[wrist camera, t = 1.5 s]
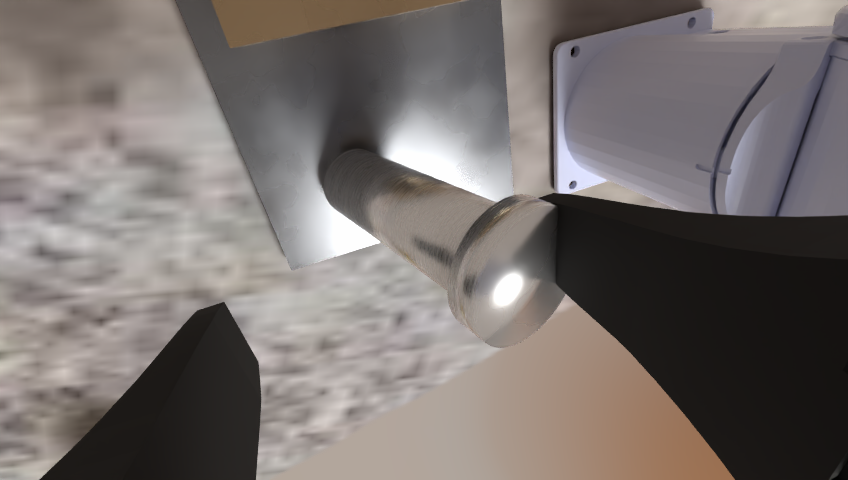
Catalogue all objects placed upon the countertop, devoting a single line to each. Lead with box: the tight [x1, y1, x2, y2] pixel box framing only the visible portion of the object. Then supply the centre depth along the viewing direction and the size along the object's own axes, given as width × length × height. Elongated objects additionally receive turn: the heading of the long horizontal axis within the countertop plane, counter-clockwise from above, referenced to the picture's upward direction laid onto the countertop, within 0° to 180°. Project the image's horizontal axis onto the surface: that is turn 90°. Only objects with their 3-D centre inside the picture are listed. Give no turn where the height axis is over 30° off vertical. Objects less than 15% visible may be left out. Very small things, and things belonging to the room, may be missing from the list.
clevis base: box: [176, 0, 514, 270], centre depth 13 cm, size 12×20×5 cm, turn 11°
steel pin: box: [323, 149, 566, 348], centre depth 14 cm, size 4×4×10 cm
